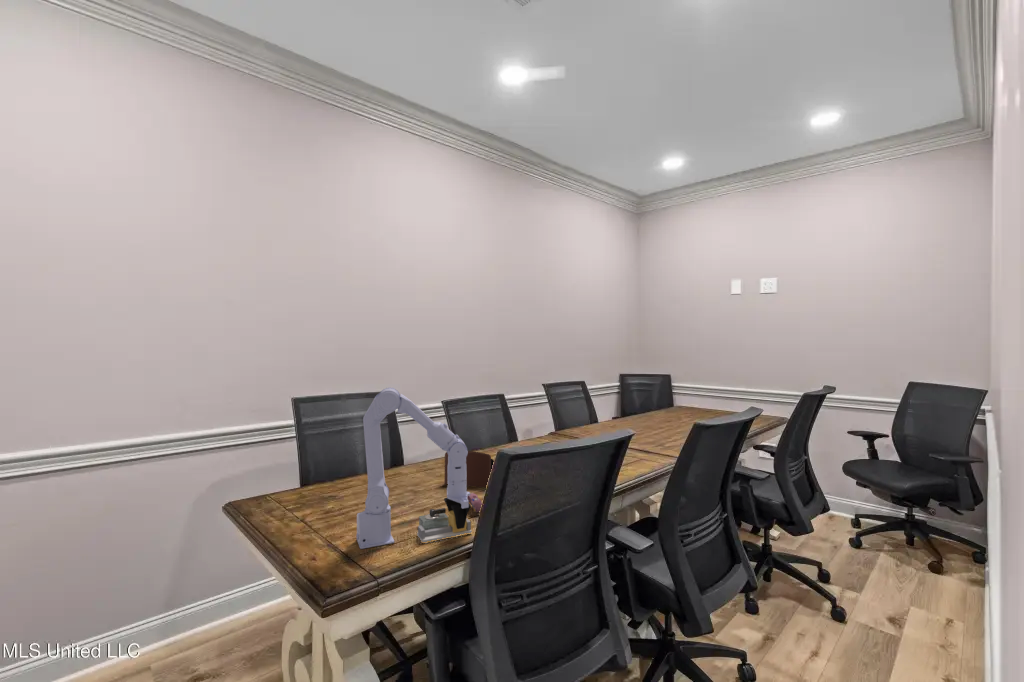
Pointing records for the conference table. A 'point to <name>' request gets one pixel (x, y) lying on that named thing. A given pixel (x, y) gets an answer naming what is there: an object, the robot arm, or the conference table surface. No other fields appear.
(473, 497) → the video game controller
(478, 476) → the letter holder
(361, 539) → the robot arm
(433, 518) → the lever base
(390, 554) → the conference table surface
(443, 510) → the dark lever handle
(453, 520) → the carriage
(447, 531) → the rail
